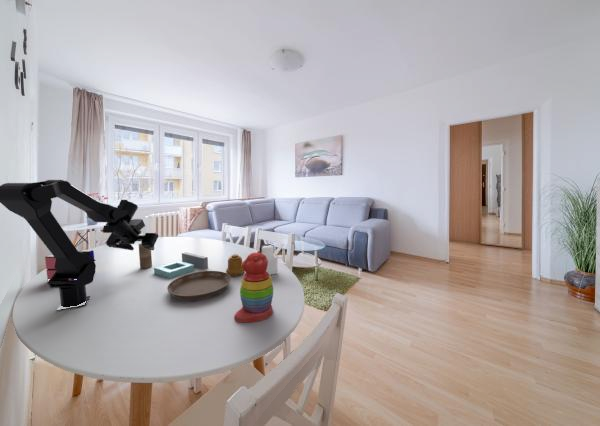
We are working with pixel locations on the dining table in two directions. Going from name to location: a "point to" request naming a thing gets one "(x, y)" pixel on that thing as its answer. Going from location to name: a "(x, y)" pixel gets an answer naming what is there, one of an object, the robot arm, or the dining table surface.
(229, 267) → the ornamental finial
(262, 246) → the medicine bottle
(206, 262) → the charcoal wall
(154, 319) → the dining table surface
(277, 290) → the dining table surface
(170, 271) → the socket block
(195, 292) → the plant saucer
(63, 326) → the dining table surface
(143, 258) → the walnut dowel
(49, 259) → the puzzle cube
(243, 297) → the stacking bear
